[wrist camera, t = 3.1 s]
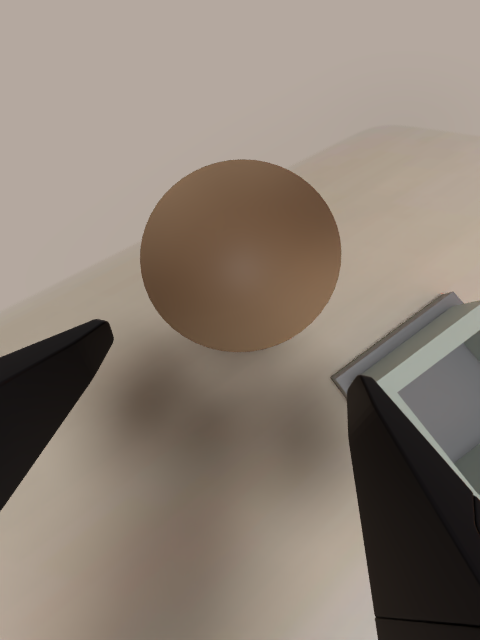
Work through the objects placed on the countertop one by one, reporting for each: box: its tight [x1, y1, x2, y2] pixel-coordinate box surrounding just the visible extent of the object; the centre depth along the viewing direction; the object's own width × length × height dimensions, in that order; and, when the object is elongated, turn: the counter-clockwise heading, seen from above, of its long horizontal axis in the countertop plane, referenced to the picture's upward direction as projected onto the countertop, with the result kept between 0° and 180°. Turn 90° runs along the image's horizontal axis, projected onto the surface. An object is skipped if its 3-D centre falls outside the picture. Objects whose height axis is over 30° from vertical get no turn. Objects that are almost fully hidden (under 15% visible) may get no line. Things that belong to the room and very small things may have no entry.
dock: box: [331, 292, 480, 500], centre depth 15 cm, size 11×11×4 cm
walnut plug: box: [140, 160, 341, 352], centre depth 12 cm, size 5×5×13 cm
